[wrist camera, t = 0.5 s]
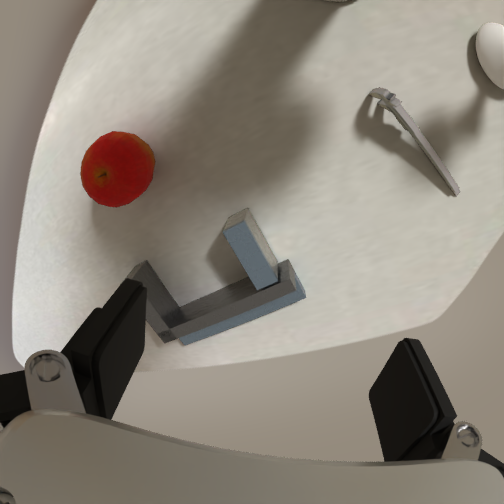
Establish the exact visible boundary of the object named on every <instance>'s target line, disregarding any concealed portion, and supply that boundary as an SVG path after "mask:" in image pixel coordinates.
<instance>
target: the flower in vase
mask: <svg viewBox="0 0 504 504" xmlns="http://www.w3.org/2000/svg"><path fill="white" fill-rule="evenodd" d="M476 52H477V56H478V59H479V62H480V64H481V66H482V68H483V70H484V72H485V73H486V75H487V76H488V77H489V78H490V80H491V81H492V82H493V83H494V84H496V85H497V86H498V87H500V88H501V89H503V90H504V26H503V25H501V24H497V23H493V22H489V23H485V24H483V25H482V26H481V27H480V28H479V30H478V32H477V36H476Z"/></svg>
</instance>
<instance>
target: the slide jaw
mask: <svg viewBox="0 0 504 504" xmlns="http://www.w3.org/2000/svg"><path fill="white" fill-rule="evenodd" d="M223 234H224V236H225V237H226V239H227V241H228V242H229V244H230V246H231V247H232V249H233V251H234V252H235V254H236V256H237V257H238V259H239V261H240V262H241V264H242V266H243V267H244V269H245V271H246V272H247V274H248V276H249V277H250V279H251V281H252V282H253V284H254V286H255V287H256V289H257V290H259V289H261V288H264V287H266V286H268V285H271V284H273V283H275V282H277V281H278V261H277V260H276V258H275V256H274V254H273V252H272V250H271V249H270V247H269V245H268V243H267V241H266V240H265V238H264V236H263V234H262V232H261V230H260V229H259V227H258V225H257V223H256V221H255V220H254V218H253V216H252V214H251V212H250V211H249V209H248V208H247V209H245V210H243V211H241V212H239V213H237V214H235V215H233V216H231V217H229V218H228V221H227V223H226V225H225V228H224V230H223Z"/></svg>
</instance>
